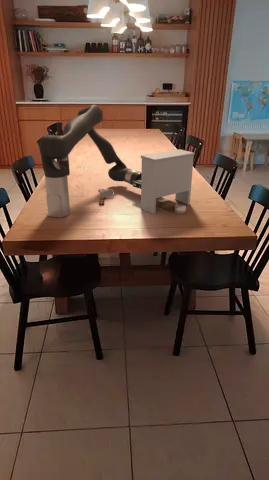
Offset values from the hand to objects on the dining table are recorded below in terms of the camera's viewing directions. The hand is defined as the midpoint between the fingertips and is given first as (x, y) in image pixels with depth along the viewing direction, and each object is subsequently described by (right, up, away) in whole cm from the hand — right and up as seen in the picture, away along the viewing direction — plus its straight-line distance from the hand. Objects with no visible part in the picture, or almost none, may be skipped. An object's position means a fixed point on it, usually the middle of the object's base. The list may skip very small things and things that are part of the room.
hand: (156, 186), depth 169 cm
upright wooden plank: (+3, -9, 0) cm, 9 cm away
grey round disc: (+10, -13, -9) cm, 18 cm away
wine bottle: (-53, +14, +47) cm, 72 cm away
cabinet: (+4, -9, -2) cm, 10 cm away
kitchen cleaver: (-24, -4, +10) cm, 26 cm away
